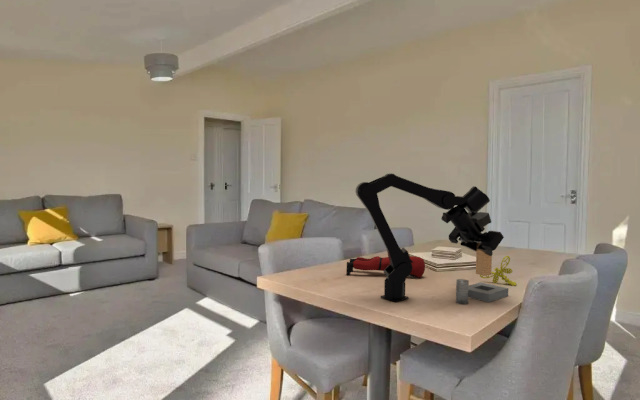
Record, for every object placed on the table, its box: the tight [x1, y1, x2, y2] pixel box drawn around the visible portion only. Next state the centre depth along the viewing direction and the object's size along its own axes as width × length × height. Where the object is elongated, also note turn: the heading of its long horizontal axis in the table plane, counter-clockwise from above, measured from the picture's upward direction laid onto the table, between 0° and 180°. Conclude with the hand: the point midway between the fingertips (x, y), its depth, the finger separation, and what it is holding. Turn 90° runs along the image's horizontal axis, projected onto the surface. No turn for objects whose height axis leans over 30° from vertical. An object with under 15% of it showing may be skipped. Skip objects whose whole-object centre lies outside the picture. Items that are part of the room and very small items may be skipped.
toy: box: [345, 256, 426, 279], centre depth 170 cm, size 28×8×30 cm
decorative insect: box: [479, 255, 517, 287], centre depth 158 cm, size 13×3×10 cm
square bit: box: [475, 242, 493, 277], centre depth 143 cm, size 3×3×12 cm
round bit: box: [455, 278, 470, 306], centre depth 134 cm, size 4×4×7 cm
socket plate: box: [468, 281, 509, 303], centre depth 142 cm, size 12×10×2 cm
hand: (487, 254), depth 143 cm, fingers closed on square bit, 3 cm apart
